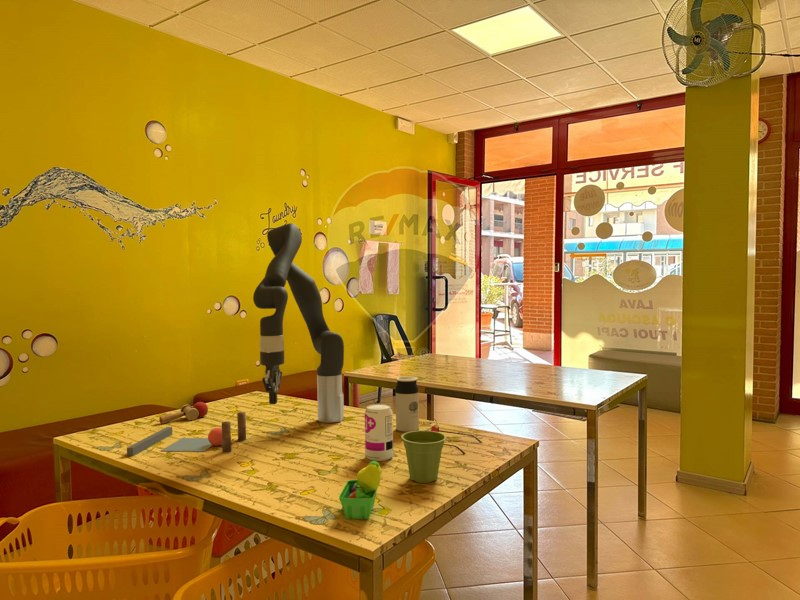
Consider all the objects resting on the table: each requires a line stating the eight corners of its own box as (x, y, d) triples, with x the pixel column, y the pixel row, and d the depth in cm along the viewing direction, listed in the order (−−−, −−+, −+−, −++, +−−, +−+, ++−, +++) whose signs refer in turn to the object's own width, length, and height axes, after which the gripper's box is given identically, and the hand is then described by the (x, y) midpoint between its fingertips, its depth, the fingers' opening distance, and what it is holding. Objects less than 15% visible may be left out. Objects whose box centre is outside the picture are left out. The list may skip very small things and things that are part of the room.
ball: (232, 431, 181) (217, 421, 181) (225, 438, 176) (210, 428, 175) (223, 444, 182) (208, 435, 182) (216, 451, 176) (201, 442, 176)
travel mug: (392, 428, 197) (391, 377, 196) (413, 425, 200) (412, 375, 199) (401, 433, 189) (400, 380, 189) (422, 430, 193) (422, 379, 192)
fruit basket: (348, 500, 132) (347, 453, 132) (385, 501, 132) (384, 454, 131) (338, 521, 121) (337, 470, 121) (378, 522, 120) (378, 470, 120)
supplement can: (372, 463, 159) (371, 411, 158) (361, 455, 166) (360, 405, 166) (398, 459, 163) (397, 408, 162) (385, 451, 170) (384, 402, 169)
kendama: (166, 430, 204) (213, 414, 216) (162, 413, 204) (209, 398, 216) (159, 429, 210) (205, 414, 222) (155, 413, 210) (201, 399, 222)
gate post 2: (247, 438, 186) (246, 411, 186) (244, 440, 183) (243, 413, 183) (239, 438, 186) (239, 411, 186) (236, 440, 184) (236, 413, 183)
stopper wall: (172, 434, 193) (172, 427, 193) (133, 456, 169) (133, 447, 169) (166, 434, 193) (166, 426, 193) (126, 455, 169) (126, 447, 169)
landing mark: (222, 438, 186) (222, 438, 186) (204, 451, 172) (204, 451, 172) (182, 438, 187) (182, 437, 187) (160, 451, 173) (160, 450, 173)
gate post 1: (232, 450, 173) (231, 421, 173) (229, 452, 171) (228, 423, 170) (224, 450, 174) (223, 421, 173) (221, 452, 171) (220, 423, 171)
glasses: (436, 437, 186) (436, 422, 185) (483, 444, 177) (483, 428, 177) (416, 449, 173) (416, 433, 173) (466, 456, 165) (466, 439, 165)
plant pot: (413, 490, 138) (412, 445, 138) (394, 475, 149) (394, 433, 149) (455, 482, 143) (454, 439, 143) (434, 468, 154) (433, 428, 154)
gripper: (267, 347, 183) (268, 399, 184) (253, 352, 170) (254, 408, 171) (289, 346, 183) (290, 399, 183) (277, 352, 169) (278, 408, 170)
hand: (273, 403), depth 177 cm, fingers closed
